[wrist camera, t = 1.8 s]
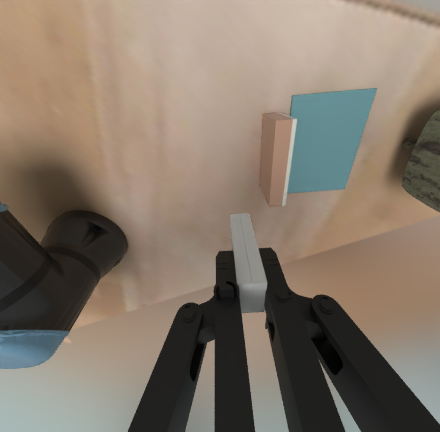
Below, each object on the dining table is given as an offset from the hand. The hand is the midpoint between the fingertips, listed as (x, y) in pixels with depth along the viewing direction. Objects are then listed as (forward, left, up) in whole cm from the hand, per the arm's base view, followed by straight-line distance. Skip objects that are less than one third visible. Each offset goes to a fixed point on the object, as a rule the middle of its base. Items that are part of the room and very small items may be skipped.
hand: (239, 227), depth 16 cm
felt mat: (+16, 0, -20) cm, 26 cm away
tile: (+7, 0, -20) cm, 22 cm away
